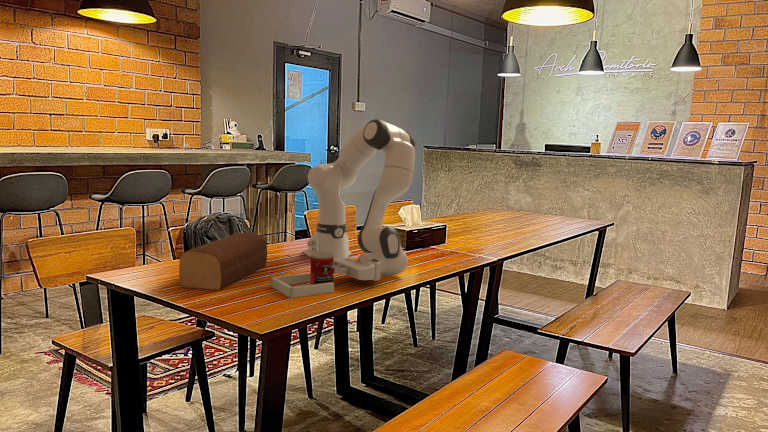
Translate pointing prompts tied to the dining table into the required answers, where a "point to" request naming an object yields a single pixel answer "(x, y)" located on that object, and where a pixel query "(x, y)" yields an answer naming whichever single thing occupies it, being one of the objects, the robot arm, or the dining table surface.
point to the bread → (222, 261)
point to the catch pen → (285, 281)
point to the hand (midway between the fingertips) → (332, 270)
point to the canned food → (321, 268)
